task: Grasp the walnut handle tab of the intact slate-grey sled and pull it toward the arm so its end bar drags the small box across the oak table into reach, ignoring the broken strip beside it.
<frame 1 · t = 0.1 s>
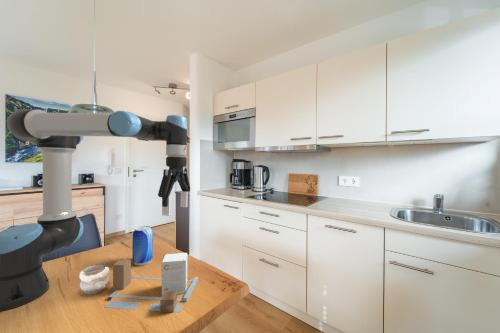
hand: (175, 210, 81), 28 cm above the table, fingers open, 13 cm apart
sled: (154, 277, 75), point 5 cm above the table, slide at 0.0 cm
walnut cube: (168, 307, 65), point 1 cm above the table, touching broken strip
beer can: (142, 262, 96), on the table
small box: (175, 292, 75), resting in sled
broken strip: (144, 309, 66), on the table
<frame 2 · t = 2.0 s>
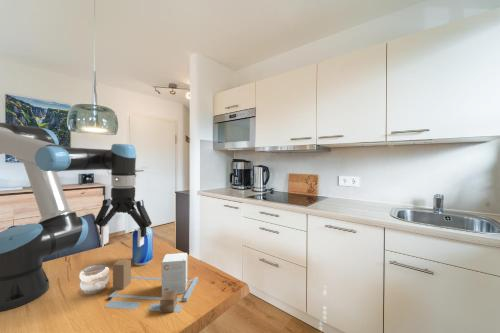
hand: (122, 244, 76), 16 cm above the table, fingers open, 13 cm apart
nothing on the table moved.
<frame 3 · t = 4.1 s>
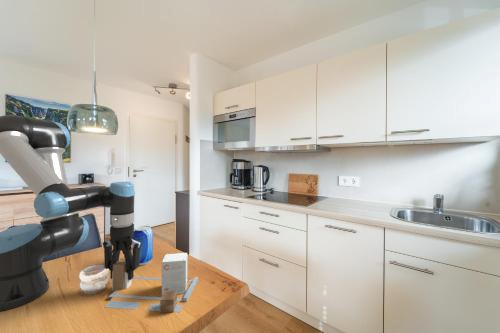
hand: (122, 287, 76), 1 cm above the table, fingers closed on sled, 4 cm apart
sled: (154, 277, 75), point 5 cm above the table, slide at 0.0 cm, touching gripper
everything else where it was.
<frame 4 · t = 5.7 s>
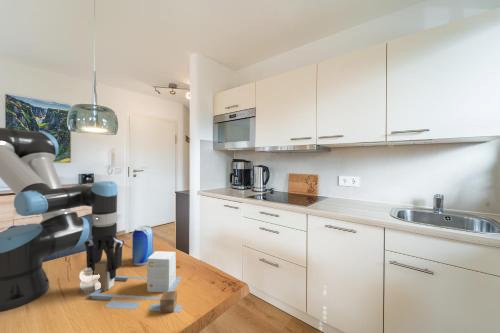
hand: (104, 286, 76), 1 cm above the table, fingers closed on sled, 4 cm apart
sled: (136, 276, 76), point 5 cm above the table, slide at 6.8 cm, touching gripper, small box
small box: (161, 290, 76), resting in sled
everything else where it was.
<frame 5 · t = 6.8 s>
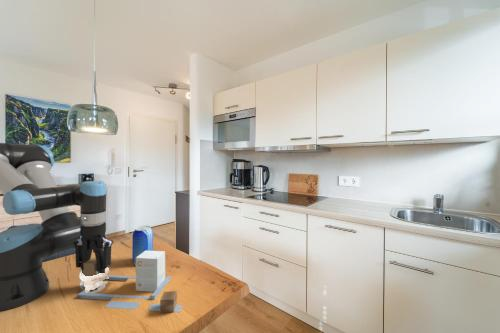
hand: (93, 285, 77), 1 cm above the table, fingers closed on sled, 4 cm apart
sled: (125, 275, 76), point 5 cm above the table, slide at 11.0 cm, touching gripper, small box
small box: (150, 289, 77), resting in sled
everything else where it was.
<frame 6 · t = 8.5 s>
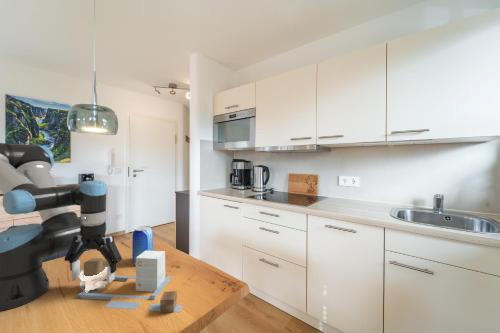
hand: (93, 280, 77), 3 cm above the table, fingers open, 13 cm apart
sled: (125, 275, 76), point 5 cm above the table, slide at 11.0 cm, touching small box
everything else where it was.
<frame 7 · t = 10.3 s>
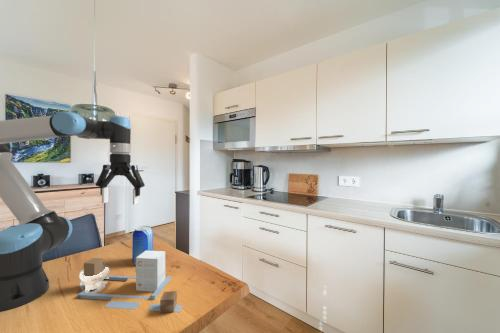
hand: (120, 203, 89), 29 cm above the table, fingers open, 13 cm apart
nothing on the table moved.
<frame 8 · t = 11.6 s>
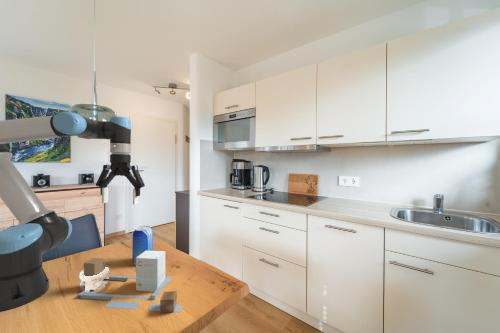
hand: (120, 203, 89), 29 cm above the table, fingers open, 13 cm apart
nothing on the table moved.
at the end: sled slide at 10.9 cm; small box inside the target area (1.2 cm from its centre), resting in sled; small box tilted 0° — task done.
